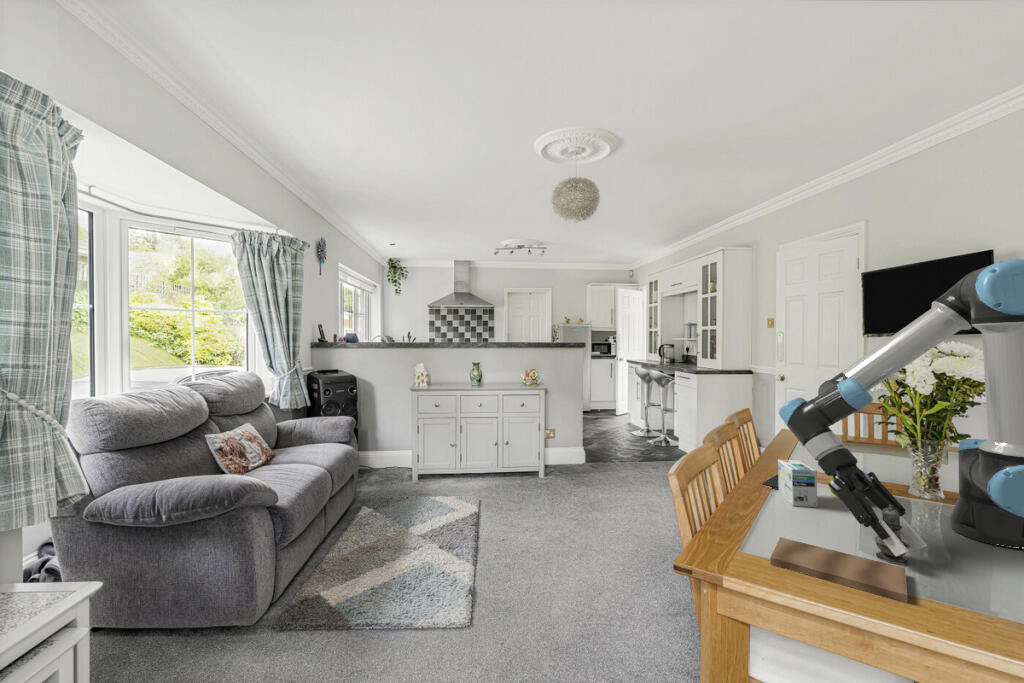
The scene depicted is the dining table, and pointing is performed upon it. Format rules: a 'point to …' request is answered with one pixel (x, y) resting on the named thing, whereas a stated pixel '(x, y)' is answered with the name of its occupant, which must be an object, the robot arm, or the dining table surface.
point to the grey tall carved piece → (893, 522)
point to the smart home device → (772, 482)
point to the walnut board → (842, 568)
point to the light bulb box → (797, 483)
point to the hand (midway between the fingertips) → (911, 550)
